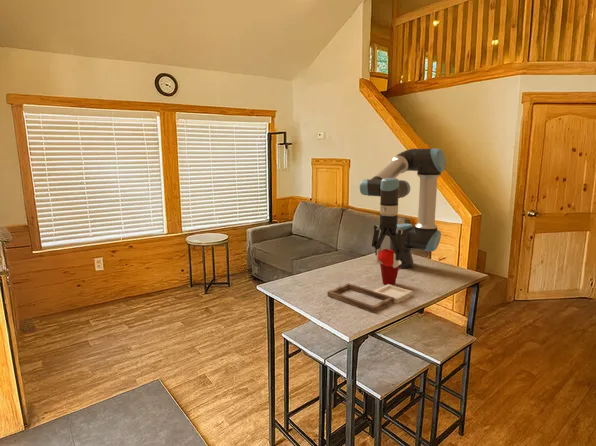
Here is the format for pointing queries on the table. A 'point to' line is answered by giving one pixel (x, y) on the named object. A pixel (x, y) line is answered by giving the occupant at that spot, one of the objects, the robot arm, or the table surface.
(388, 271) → the plastic cup
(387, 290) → the dish
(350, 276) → the table surface
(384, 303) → the pocket frame
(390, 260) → the apple
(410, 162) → the robot arm
